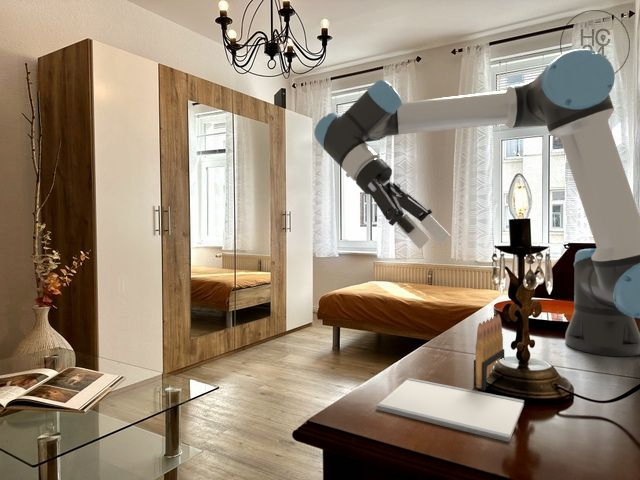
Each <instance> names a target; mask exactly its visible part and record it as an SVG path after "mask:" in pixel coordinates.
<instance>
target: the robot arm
mask: <svg viewBox="0 0 640 480" xmlns="http://www.w3.org/2000/svg"><path fill="white" fill-rule="evenodd" d="M615 76H616V75H615V70H614V67H613V65H612V63H611V62H610V61H609V59H608V58H607V57H606V56H605V55H604V54H602V53H600V52H598V51H594V50H592V49H586V48H579V49H573V50H570V51H569V50H568V51H567V52H564V53H562V54H561V55H560V56H557V58H555V59H553V60H552V61H551V62H550V63H548V64H547V66H545V68H544V70H543V71H542V72H541V73H540V74H539V75H538V76H536V78H534V79H532V80H530V81H528V82H524V83H520V84H513V85H509V86H508V87H506V89H505V90H500V91H491V92H483V93H474V94H465V95H457V96H448V97H441V98H440V97H439V98H438V97H437V98H431V99H423V100H414V101H404V102H403V99H402V98H401V95H400V94H399V93H398V92H397V90H396V89H395V88H394V87H393V85H392V84H391V83H389V82H388V81H386V80H385V79H378V80H377V81H375V82H374V83H373V84H372V85H371V86H369V87H368V88H367V90H366V91H365V92H364V93H363V94H362V95H361V96H360V97H359V98H357V100H356V101H355V102H353V104H352V105H351V106H350V107H349V108H348V109H347V110H346V111H345V112H343V114H341V115H339V114H338V113H336V112H330V113H328V114H327V115H325V116H323V117H322V118H320V119H319V120H318V122H317V124H316V125H315V128H314V138H315V139H316V141H317V143H318V144H320V146H321V147H322V149H323V150H324V152H326V153H327V154H328V155H329V156H330V157H331V159H333V160H334V161H335V162H336V164H337V165H338V166H340V167H341V169H342V170H343V171H344V172H346V173H345V176H346V178H351V179H352V180H353V181H354V182H355V184H356V185H357V186H358V187H359V189H361V191H363V193H364V194H366V195H370V196H371V197H372V199H373V200H374V203H375V204H376V205H377V206H378V208H379V210H380V211H381V213H382V215H383V216H384V218H385V220H387V221H388V224H389V225H390V226H392V227H393V226H394V225H395V224H396V226H398V228H399V229H400V230H402V232H403V233H404V234H405V235H406V237H408V238H409V239H410V240H411V241H412V243H414V245H415V246H416V247H417V248H418V249H419V250H421V249H422V248H423V247H424V246H425V245H426V244H427V243H428V242H429V241H430V240H431V237H430V236H429V235H428V234H427V233H426V232H425V231H424V229H425V230H426V231H427V232H428V233H429V234H430V235H431V236H432V237H433V238H434V239H435V240H436V242H437V243H439V244H440V246H442V245H443V244H444V243H445V242H446V241H447V240H449V239H450V238H451V236H452V235H451V234H450V233H449V232H448V231H447V230H446V229H445V228H444V227H443V225H441V224H440V222H438V221H437V220H436V219H435V218H434V216H432V215H431V214H432V213H433V210H432V209H431V208H428V207H426V206H425V205H424V204H422V203H421V202H420V201H419V200H417V199H416V198H415V197H414V196H412V194H410V193H409V192H408V191H407V190H405V188H404V187H403V186H401V184H400V183H396V182H392V181H391V180H390V179H391V177H392V175H393V169H392V167H391V166H390V165H389V164H387V162H386V161H385V160H384V159H382V158H380V155H379V154H378V153H377V152H376V151H375V150H374V149H373V148H372V147H371V146H370V145H369V144H368V143H366V140H367V139H371V140H377V141H378V140H382V139H385V138H386V137H389V136H397V135H407V134H420V133H429V132H437V131H438V132H440V131H447V130H458V129H460V130H461V129H469V128H470V129H471V128H479V127H489V126H499V125H505V126H506V127H507V128H509V129H513V128H528V127H529V128H530V127H547V128H546V129H547V130H548V133H549V135H551V136H554V137H557V138H559V139H558V140H560V142H561V146H562V148H563V152H564V155H565V158H566V160H567V164H568V166H569V169H570V172H571V175H572V177H573V178H572V179H573V182H574V184H575V186H576V190H577V193H578V196H579V199H580V202H581V204H582V209H583V210H584V211H583V212H584V214H585V217H586V220H587V223H588V225H589V228H590V232H591V235H592V238H593V241H594V244H595V247H596V248H584V249H579V250H577V252H576V253H575V255H574V262H573V268H574V270H573V271H574V275H573V276H574V277H573V278H574V280H573V281H574V284H573V285H574V286H573V287H574V288H573V290H574V291H573V293H574V295H573V298H574V300H573V305H574V308H573V313H572V316H571V318H570V322H569V324H568V326H567V329H566V331H565V339H564V340H565V342H564V343H565V344H566V345H567V346H568V347H570V348H571V349H574V350H577V351H581V352H585V353H590V354H594V355H601V356H609V357H636V356H639V355H640V331H639V328H638V325H637V323H636V319H640V213H639V210H638V206H637V203H636V200H635V198H634V194H633V192H632V189H631V186H630V183H629V180H628V177H627V174H626V170H625V168H624V166H623V163H622V162H623V161H622V159H621V157H620V154H619V150H618V146H617V144H616V141H615V139H614V135H613V132H612V130H611V129H612V128H611V127H610V124H609V120H610V118H611V117H612V114H613V113H614V111H615V108H614V105H613V102H612V99H611V96H610V93H611V92H612V90H613V88H614V85H615ZM403 209H404V211H406V212H407V213H404V211H403ZM408 213H409V214H408ZM410 215H411V216H412V217H414V218H415V219H417V220H418V221H419V222H420V224H421V226H422V227H423V228H424V229H422V228H421V226H419V225H418V223H416V221H415V220H414V219H413V218H412V217H411V216H410Z"/></svg>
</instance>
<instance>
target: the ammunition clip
mask: <svg viewBox="0 0 640 480" xmlns="http://www.w3.org/2000/svg"><path fill="white" fill-rule="evenodd" d="M502 327H503V325H502V319H501V316H500V314H499V313H498V314H497V315H493V317H490V318H487V319H486V321H485V320H483V321H482V322H479V323H478V326H477V330H476V340H475V341H476V342H475V357H474V358H475V359H474V360H473V389H477V390H479V391H480V390H481V391H482V392H483V391H485V390H487V388H486V382H487V378H488V377H489V373H490V372H491V371H492V369H493V365H494V364H495V363H496V361H498V360H500V359H502V358H504V359H505V348H504V337H503V328H502Z"/></svg>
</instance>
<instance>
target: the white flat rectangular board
mask: <svg viewBox="0 0 640 480" xmlns="http://www.w3.org/2000/svg"><path fill="white" fill-rule="evenodd" d="M524 406H525V400H524V399H519V398H515V397H508V396H504V395H497V394H493V393H488V392H483V391H480V390H479V391H477V390H473V389H469V388H468V389H467V388H462V387H457V386H453V385H448V384H442V383H439V382H438V383H437V382H431V381H427V380H422V379H416V378H412V377H411V378H410V377H408V378H406V380H404V382H402V383H400V385H399V386H398V387H397V388H396V389H394V390H393V391H391V393H389V394H388V395H387V396H386V397H385V398H384V399H383V400H381V401H380V402H379V403H377V404H376V406H375V407H376V410H378V411H382V412H385V413H390V414H394V415H397V416H401V417H406V418H410V419H413V420H417V421H422V422H426V423H430V424H434V425H439V426H442V427H446V428H450V429H454V430H458V431H461V432H467V433H470V434H473V435H478V436H482V437H487V438H491V439H494V440H499V441H502V442H507V443H510V441H511V438H512V436H513V433H514V431H515V429H516V426H517V424H518V421H519V418H520V416H521V413H522V410H523V408H524Z"/></svg>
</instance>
